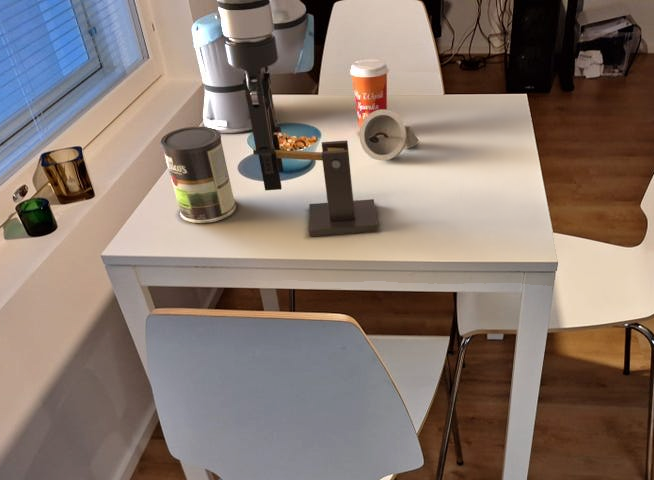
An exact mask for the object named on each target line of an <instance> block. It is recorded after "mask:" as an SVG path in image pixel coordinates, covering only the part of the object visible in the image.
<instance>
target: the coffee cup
mask: <svg viewBox="0 0 654 480" xmlns="http://www.w3.org/2000/svg"><path fill="white" fill-rule="evenodd" d="M389 72H390V69H389V68H388V66H387V64H386V62H385V61H383V60H381V59H376V58H367V59H366V58H365V59H360V60H356V61H355V62H353V64H352V65H351V69H350V71H349V73H350V75H351V78H352V87H353V93H354V99H355V107H356V114H357V121H358V128H359V129H360V128H361V125H362V123H363V121H364V119H365V118H366V117H367V116H368V115H369V114H370V113H372V112H374V111H376V110H381V109H385V110H388V73H389Z"/></svg>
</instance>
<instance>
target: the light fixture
mask: <svg viewBox="0 0 654 480" xmlns="http://www.w3.org/2000/svg"><path fill="white" fill-rule="evenodd" d="M359 143H360V145H361V148H362V149H363V151H364V153H365V154H366V155H367V156H369V157H370V158H372V159H374V160H377V161H388V160H392V159H393V158H395V157H397V156H398V155H400V154H401V153H402V152H403V150H404V149H410V148H413V147H415V146H416V145H417V144H418V143H419V138H418V136H417V134H415V132H414V130H413V129H412V128H411V126H410V125H409V123H407V124H405V123H404V121H403V120H402V118H401V117H400V116H399V115H398V114H397V113H396V112H395V111H393V110H390V109H387V110H385V109H381V110H376V111H374V112H372V113H370V114H369V115H368V116H367V117H366V118H365V119H364V121H363V123H362V125H361V128H359Z"/></svg>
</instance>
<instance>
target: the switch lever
mask: <svg viewBox="0 0 654 480" xmlns="http://www.w3.org/2000/svg"><path fill="white" fill-rule="evenodd" d="M273 147H274V150H275V144H274V143H273ZM338 150H344V148H328V151H338ZM275 151H276V157H277V158H282V159H284V160H285V159H286V160H287V159H289V160H305V161H322V152H323V151H321V152H320V151H302V150H286V149H285V150H284V149H283V150H282V149H280V150H275Z"/></svg>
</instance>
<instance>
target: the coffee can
mask: <svg viewBox="0 0 654 480" xmlns="http://www.w3.org/2000/svg"><path fill="white" fill-rule="evenodd" d="M159 143H160V147H161V148H162V151H163V155H164V158H165V162H166V165H167V169H168V172H169V176H170V180H171V183H172V186H173V190H174V193H175V198H176V201H177V205H178V208H179V212H180V213H179V214H180V217H181V218H182V219H183V220H184V221H186V222H188V223H193V224H209V223H215V222H219V221H221V220H224V219H226V218H229V216H231V215H233V213H234V212H235V211H236V209H237V205H236V202H235V198H234V193H233V189H232V184H231V180H230V175H229V170H228V166H227V161H226V157H225V151H224V147H223V142H222V133H220V132H219V131H218V130H216V129H214V128H210V127H205V126H188V127H182V128H179V129H175V130H173V131H170V132H168V133H166V134H164V135H163V136H162V137H161V139H160V141H159Z"/></svg>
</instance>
